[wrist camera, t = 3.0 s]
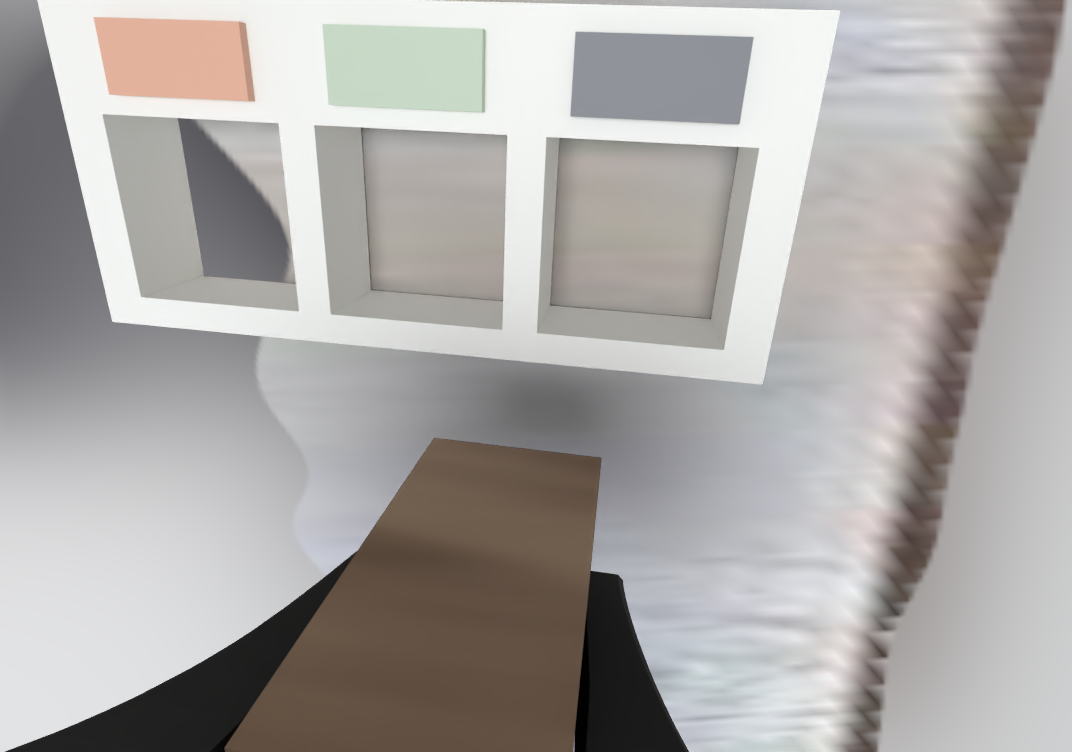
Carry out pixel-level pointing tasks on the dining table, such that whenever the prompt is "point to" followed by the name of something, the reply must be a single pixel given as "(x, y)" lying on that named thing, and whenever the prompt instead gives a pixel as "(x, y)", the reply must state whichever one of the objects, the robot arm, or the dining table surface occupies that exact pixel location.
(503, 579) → the plug
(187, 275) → the socket strip
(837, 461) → the dining table surface
